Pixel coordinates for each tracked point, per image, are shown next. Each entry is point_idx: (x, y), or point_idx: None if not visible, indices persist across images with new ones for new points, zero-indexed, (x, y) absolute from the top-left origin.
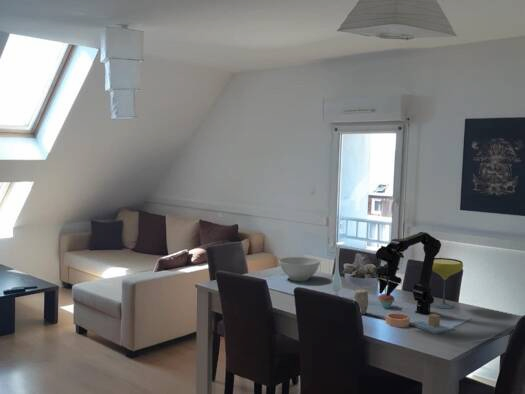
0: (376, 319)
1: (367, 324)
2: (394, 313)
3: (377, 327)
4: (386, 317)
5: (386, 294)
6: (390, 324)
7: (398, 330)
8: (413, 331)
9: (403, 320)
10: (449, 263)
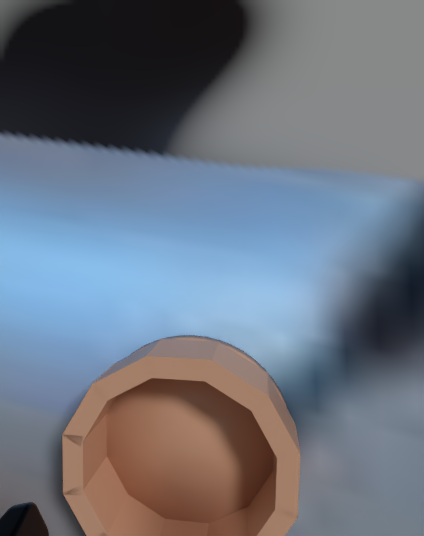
0: (331, 274)
1: (169, 163)
2: (281, 469)
3: (93, 241)
4: (164, 353)
5: (14, 518)
6: (115, 363)
7: (35, 399)
8: None
9: (69, 495)
10: None
